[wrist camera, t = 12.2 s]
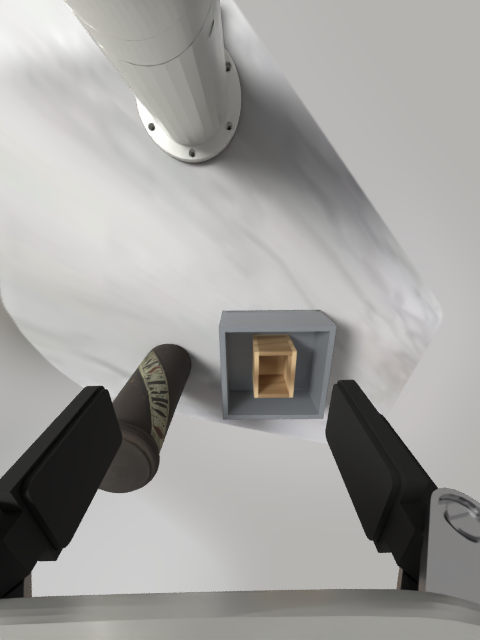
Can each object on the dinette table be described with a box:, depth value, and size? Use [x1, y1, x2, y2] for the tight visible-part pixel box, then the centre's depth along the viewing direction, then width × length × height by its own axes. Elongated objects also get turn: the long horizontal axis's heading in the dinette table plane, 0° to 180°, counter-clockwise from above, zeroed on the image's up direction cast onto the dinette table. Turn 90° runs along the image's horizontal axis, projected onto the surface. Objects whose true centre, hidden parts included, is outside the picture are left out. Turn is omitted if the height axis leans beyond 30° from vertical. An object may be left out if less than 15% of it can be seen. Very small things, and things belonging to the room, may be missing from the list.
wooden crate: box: [252, 334, 297, 398], centre depth 37 cm, size 8×6×6 cm
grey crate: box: [219, 310, 337, 419], centre depth 37 cm, size 16×16×7 cm
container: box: [99, 344, 191, 493], centre depth 32 cm, size 9×9×20 cm
